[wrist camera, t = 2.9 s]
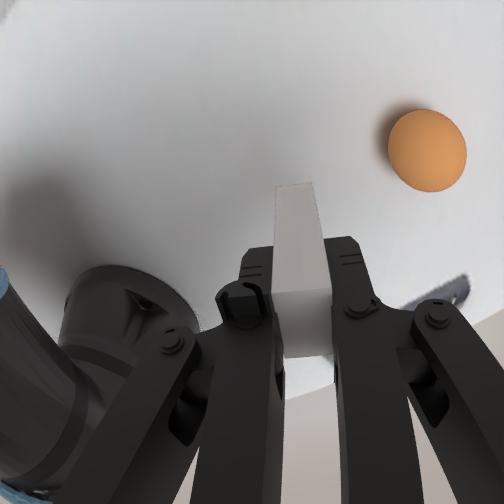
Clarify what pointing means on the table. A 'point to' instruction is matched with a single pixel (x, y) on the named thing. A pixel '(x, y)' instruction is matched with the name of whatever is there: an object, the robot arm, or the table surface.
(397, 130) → the ball
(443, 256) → the table surface
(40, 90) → the table surface
